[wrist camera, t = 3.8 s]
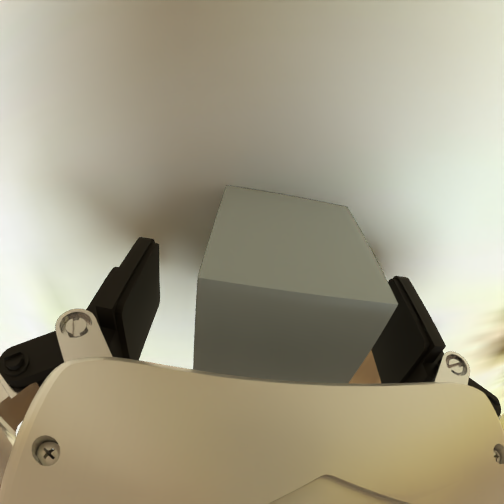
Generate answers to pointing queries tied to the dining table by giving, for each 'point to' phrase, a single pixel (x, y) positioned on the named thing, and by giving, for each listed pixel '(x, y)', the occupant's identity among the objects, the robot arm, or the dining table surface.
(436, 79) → the dining table surface
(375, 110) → the dining table surface
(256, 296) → the slate block
